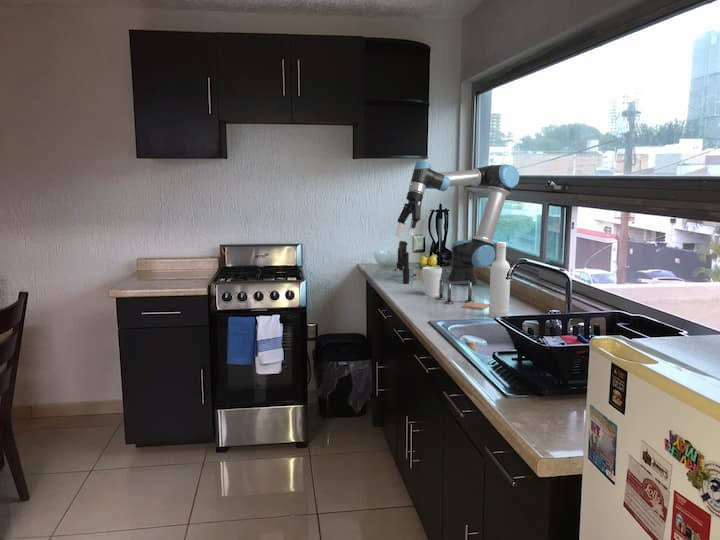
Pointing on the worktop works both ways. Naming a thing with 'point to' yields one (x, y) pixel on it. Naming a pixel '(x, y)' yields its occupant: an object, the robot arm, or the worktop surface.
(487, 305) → the coaster
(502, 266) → the bottle
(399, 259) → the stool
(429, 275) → the foam cup
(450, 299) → the bent rail
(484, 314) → the worktop surface
